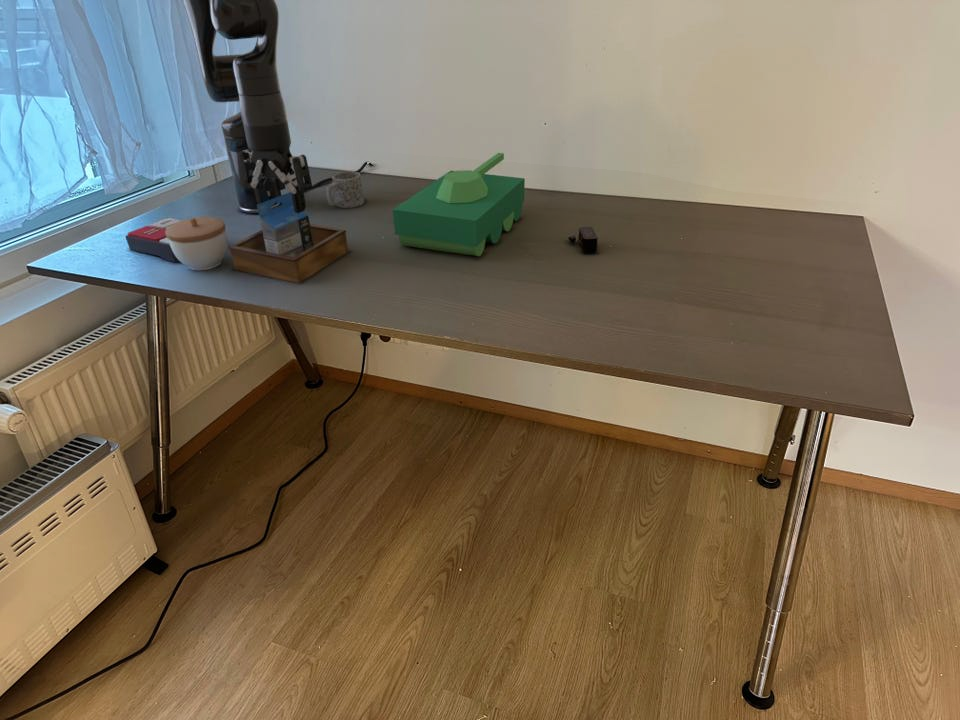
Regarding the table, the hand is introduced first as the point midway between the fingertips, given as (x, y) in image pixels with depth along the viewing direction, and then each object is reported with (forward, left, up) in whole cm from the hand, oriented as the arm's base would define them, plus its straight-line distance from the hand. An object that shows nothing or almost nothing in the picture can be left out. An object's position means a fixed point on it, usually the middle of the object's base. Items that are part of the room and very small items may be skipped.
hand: (282, 209), depth 125 cm
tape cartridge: (0, 0, -11) cm, 11 cm away
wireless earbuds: (-28, +50, -11) cm, 59 cm away
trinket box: (+8, -15, -11) cm, 20 cm away
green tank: (-30, +24, -11) cm, 40 cm away
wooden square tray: (0, 0, -11) cm, 11 cm away
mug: (-31, -10, -11) cm, 34 cm away
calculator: (+4, -28, -11) cm, 30 cm away
